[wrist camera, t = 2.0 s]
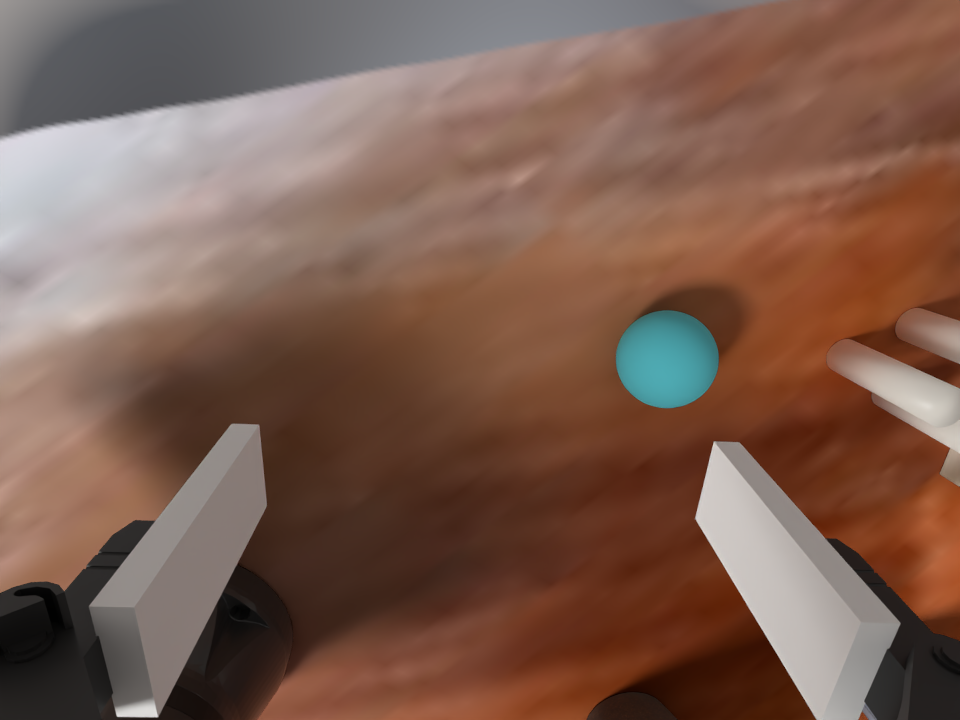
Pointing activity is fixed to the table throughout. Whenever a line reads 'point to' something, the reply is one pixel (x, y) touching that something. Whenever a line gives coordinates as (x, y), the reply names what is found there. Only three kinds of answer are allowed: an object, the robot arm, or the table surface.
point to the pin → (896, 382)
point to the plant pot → (631, 708)
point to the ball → (667, 359)
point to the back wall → (952, 467)
